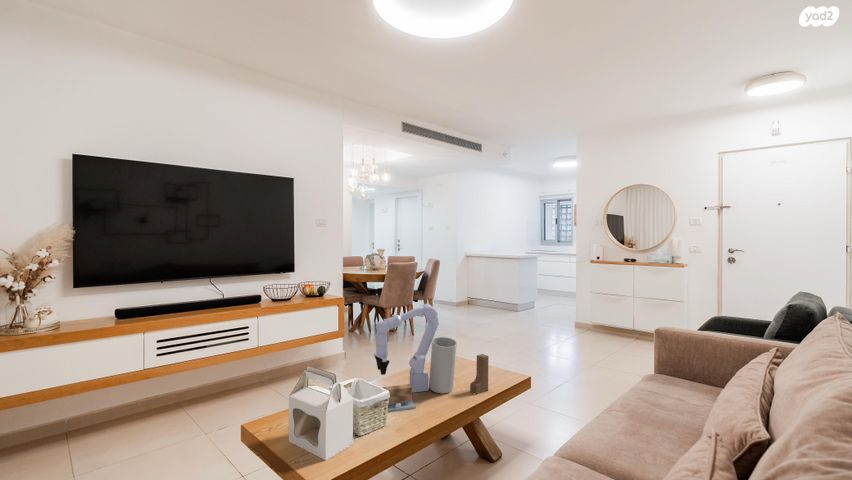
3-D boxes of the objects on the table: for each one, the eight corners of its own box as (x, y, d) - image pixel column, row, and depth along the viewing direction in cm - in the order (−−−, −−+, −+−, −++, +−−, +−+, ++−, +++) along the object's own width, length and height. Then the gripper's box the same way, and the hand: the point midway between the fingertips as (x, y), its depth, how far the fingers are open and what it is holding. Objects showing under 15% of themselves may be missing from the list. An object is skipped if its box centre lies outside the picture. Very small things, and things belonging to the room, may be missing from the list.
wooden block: (476, 394, 195) (476, 358, 195) (469, 391, 198) (470, 356, 198) (488, 390, 200) (488, 355, 200) (482, 387, 204) (482, 353, 204)
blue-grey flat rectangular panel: (410, 400, 187) (410, 398, 187) (415, 408, 179) (415, 406, 179) (377, 404, 182) (377, 402, 182) (381, 413, 174) (381, 410, 174)
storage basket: (326, 419, 168) (326, 385, 168) (357, 407, 179) (358, 375, 179) (358, 440, 151) (359, 402, 151) (391, 425, 162) (391, 390, 162)
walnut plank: (409, 396, 184) (409, 384, 184) (411, 400, 181) (411, 387, 181) (380, 400, 180) (380, 387, 180) (382, 403, 176) (382, 390, 176)
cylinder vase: (453, 395, 195) (457, 348, 191) (428, 393, 195) (432, 346, 192) (452, 382, 207) (456, 338, 204) (429, 380, 208) (432, 336, 204)
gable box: (287, 441, 149) (288, 368, 149) (315, 427, 160) (316, 359, 160) (325, 461, 136) (326, 381, 136) (353, 445, 147) (354, 371, 147)
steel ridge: (397, 401, 184) (397, 396, 184) (400, 407, 178) (400, 402, 178) (392, 401, 183) (392, 397, 183) (395, 407, 177) (395, 403, 177)
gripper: (371, 342, 203) (371, 368, 203) (376, 349, 189) (376, 377, 189) (384, 341, 205) (384, 366, 205) (391, 348, 192) (390, 376, 192)
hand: (381, 371), depth 197 cm, fingers open, 7 cm apart
